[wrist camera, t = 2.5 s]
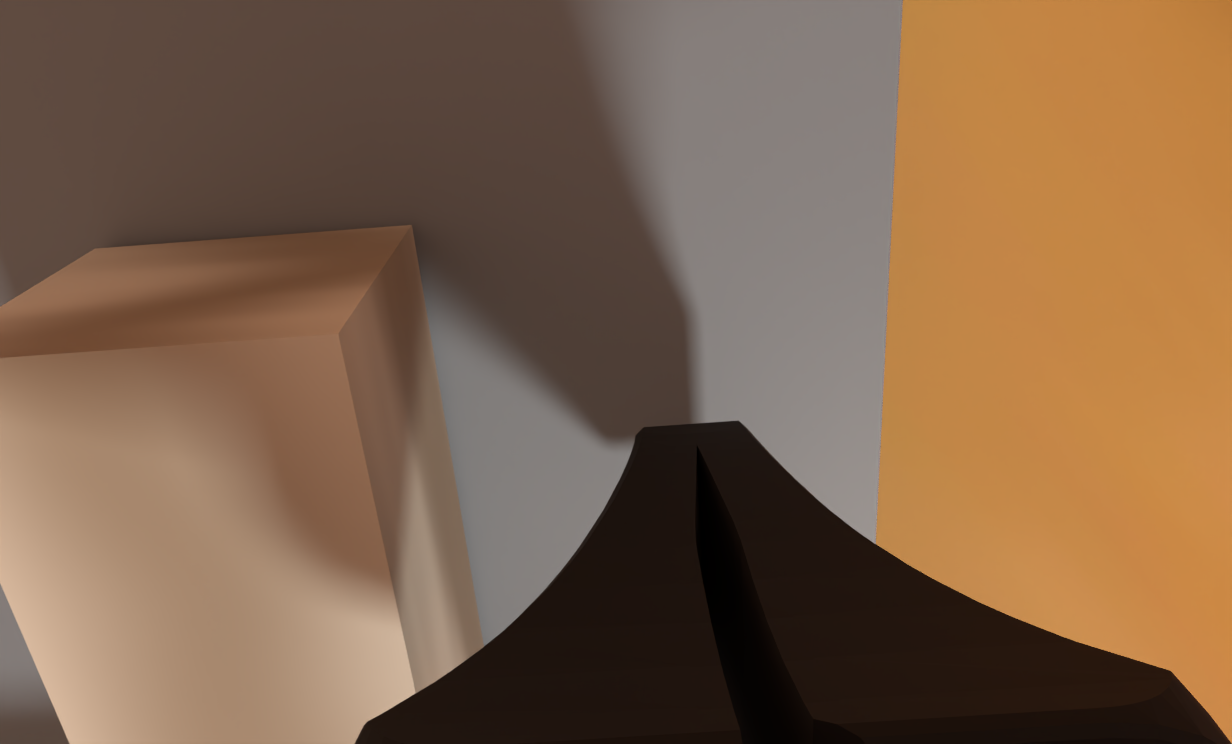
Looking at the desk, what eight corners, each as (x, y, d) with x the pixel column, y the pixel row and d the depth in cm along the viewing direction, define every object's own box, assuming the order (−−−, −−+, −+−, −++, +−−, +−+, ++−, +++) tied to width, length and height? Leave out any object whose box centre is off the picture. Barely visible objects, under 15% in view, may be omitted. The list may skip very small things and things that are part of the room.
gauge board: (897, -451, 10) (1251, -918, 4) (845, 858, 18) (943, 1248, 13) (-1053, -271, 10) (-2846, -490, 5) (-233, 919, 19) (-574, 1318, 13)
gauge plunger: (411, 224, 12) (301, 389, 8) (516, 836, 16) (483, 1152, 12) (95, 248, 12) (-191, 424, 8) (288, 850, 16) (176, 1166, 12)
